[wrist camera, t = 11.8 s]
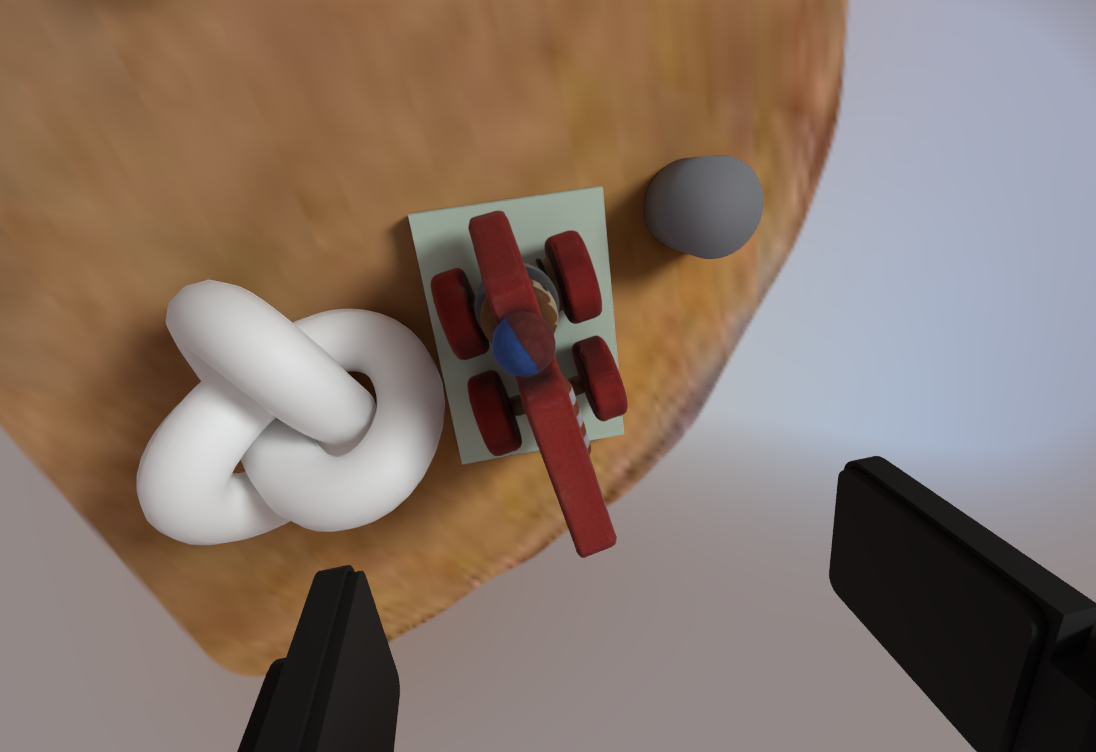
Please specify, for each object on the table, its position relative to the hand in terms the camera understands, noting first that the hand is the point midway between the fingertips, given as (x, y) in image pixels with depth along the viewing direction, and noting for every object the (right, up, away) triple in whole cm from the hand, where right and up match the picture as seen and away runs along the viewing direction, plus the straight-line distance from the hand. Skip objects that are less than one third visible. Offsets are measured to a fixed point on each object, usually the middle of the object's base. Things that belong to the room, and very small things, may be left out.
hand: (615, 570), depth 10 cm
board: (-3, +6, +18) cm, 19 cm away
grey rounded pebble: (+6, +12, +17) cm, 21 cm away
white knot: (-13, +4, +17) cm, 22 cm away
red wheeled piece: (-2, +6, +17) cm, 18 cm away
